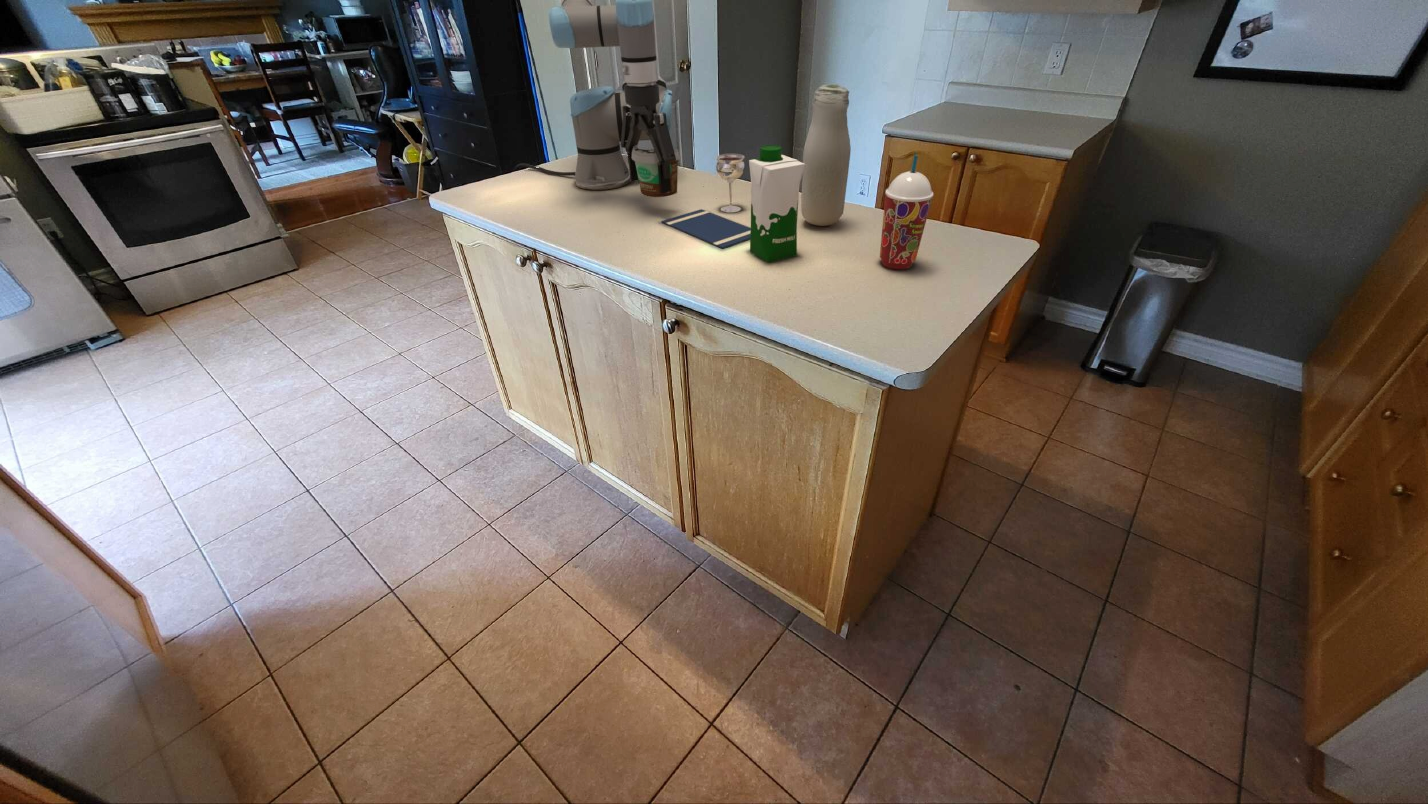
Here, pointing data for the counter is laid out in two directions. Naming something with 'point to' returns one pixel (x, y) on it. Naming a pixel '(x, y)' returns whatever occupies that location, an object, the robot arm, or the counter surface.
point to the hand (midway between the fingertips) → (650, 186)
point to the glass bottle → (826, 157)
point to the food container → (653, 172)
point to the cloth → (710, 228)
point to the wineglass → (730, 173)
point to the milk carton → (774, 204)
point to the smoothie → (904, 218)
